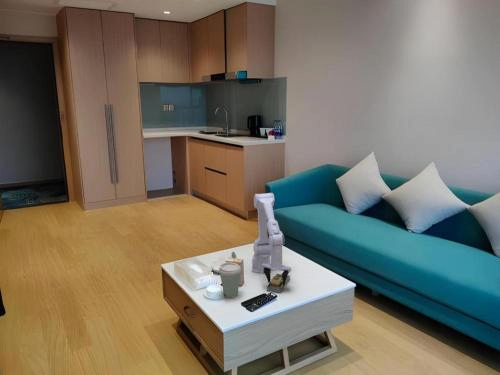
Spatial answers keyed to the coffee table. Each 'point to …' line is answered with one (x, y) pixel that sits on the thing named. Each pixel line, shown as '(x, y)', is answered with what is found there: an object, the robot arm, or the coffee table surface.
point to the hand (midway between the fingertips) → (276, 283)
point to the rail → (276, 288)
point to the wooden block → (276, 281)
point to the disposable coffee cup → (230, 278)
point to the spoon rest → (222, 260)
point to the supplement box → (241, 264)
